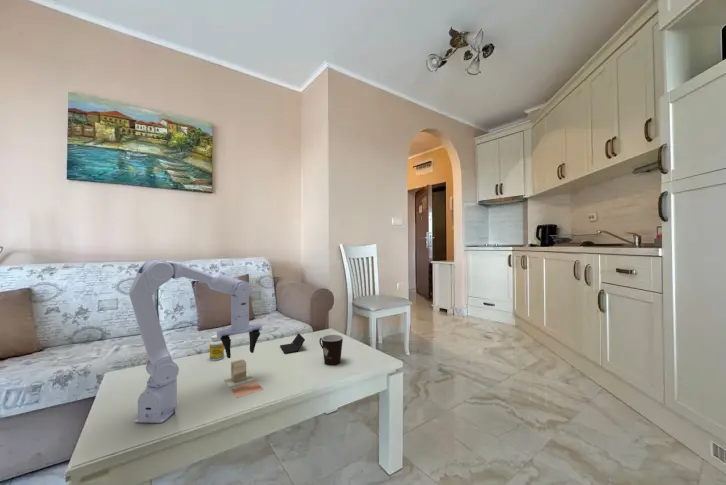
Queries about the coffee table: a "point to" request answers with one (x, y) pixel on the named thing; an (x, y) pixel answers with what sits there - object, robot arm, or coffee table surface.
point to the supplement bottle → (216, 348)
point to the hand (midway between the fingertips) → (240, 354)
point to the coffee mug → (332, 349)
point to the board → (243, 386)
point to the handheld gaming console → (293, 345)
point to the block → (238, 370)
